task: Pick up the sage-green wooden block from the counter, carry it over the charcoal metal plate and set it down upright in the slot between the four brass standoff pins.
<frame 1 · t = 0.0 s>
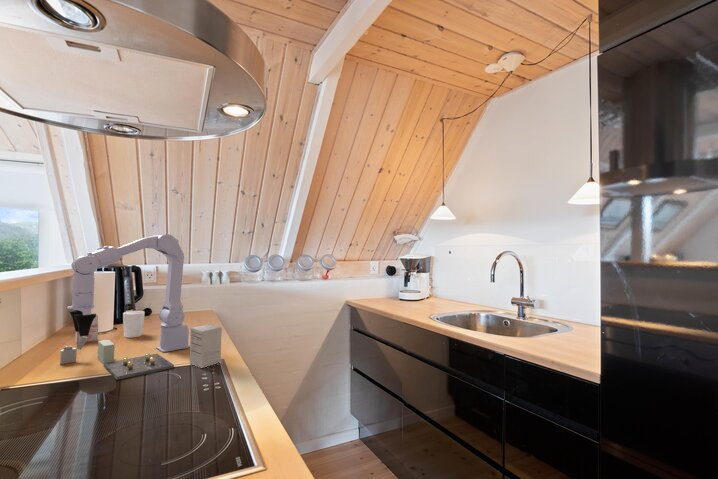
hand: (81, 333, 121), 10 cm above the countertop, tool pointing down, fingers open, 7 cm apart
lighter: (73, 361, 123), on the countertop
standoff plate: (138, 367, 120), on the countertop
printed carton: (86, 341, 147), on the countertop
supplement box: (205, 365, 124), on the countertop
white cup: (133, 336, 157), on the countertop
sage block: (105, 360, 126), on the countertop
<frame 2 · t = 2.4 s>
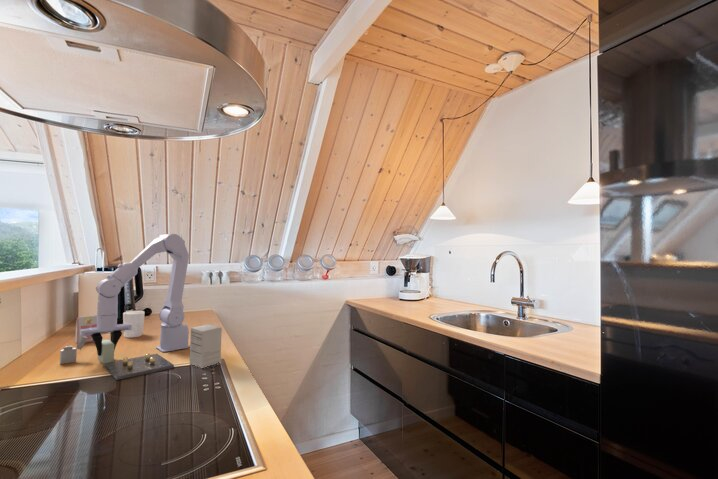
hand: (105, 353, 126), 2 cm above the countertop, tool pointing down, fingers closed on sage block, 3 cm apart
sage block: (105, 359, 126), on the countertop, touching gripper
everything else where it was.
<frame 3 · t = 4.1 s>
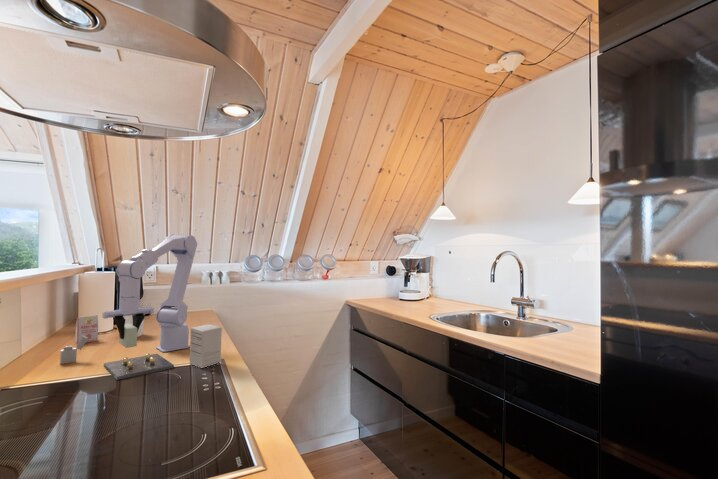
hand: (128, 337, 122), 9 cm above the countertop, tool pointing down, fingers closed on sage block, 3 cm apart
sage block: (127, 344, 122), point 7 cm above the countertop, touching gripper
everything else where it was.
when the fingers open (5 cm above the countertop, at t = 6.1 s): sage block stays where it is, resting on standoff plate.
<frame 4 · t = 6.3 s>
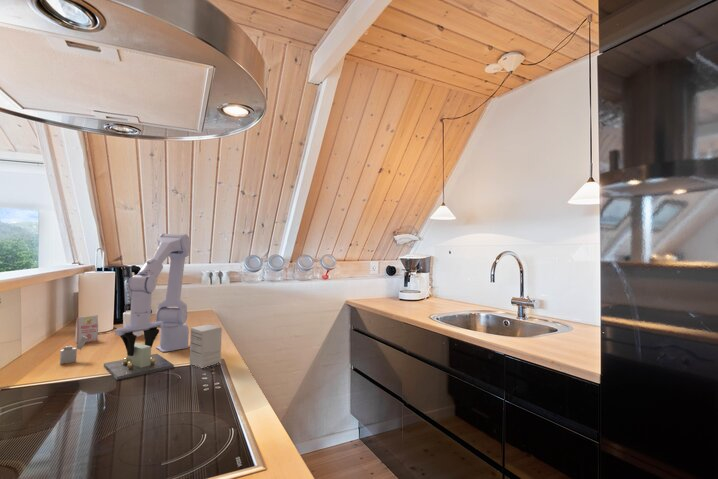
hand: (139, 353, 120), 5 cm above the countertop, tool pointing down, fingers open, 5 cm apart
sage block: (138, 363, 120), point 1 cm above the countertop, touching standoff plate
everything else where it was.
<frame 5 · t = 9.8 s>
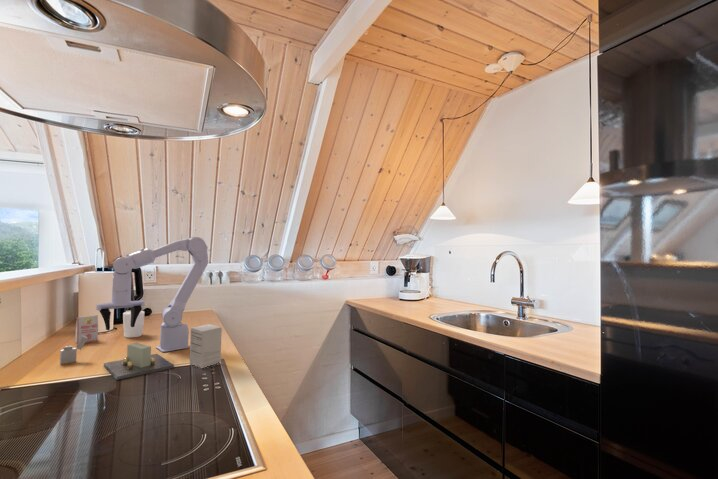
hand: (120, 328, 132), 9 cm above the countertop, tool pointing down, fingers open, 7 cm apart
nothing on the countertop moved.
at the end: sage block 0.2 cm off-centre on the standoff plate, point 1.0 cm above the standoff plate's base; sage block tilted 0°; the gripper is holding nothing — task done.
